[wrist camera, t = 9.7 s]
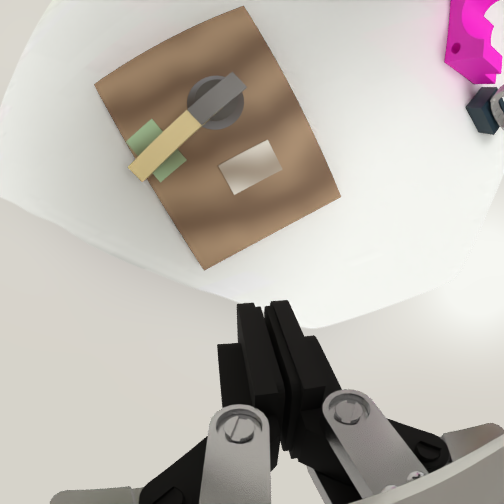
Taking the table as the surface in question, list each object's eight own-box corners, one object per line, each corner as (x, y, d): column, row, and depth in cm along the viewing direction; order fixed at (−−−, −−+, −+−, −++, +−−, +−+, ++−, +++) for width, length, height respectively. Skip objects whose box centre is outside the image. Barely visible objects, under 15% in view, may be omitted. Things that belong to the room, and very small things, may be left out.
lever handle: (222, 72, 25) (225, 63, 22) (248, 99, 26) (254, 95, 23) (130, 156, 27) (120, 160, 23) (155, 183, 28) (149, 190, 25)
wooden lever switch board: (100, 86, 26) (92, 84, 23) (241, 12, 25) (244, 4, 23) (204, 262, 34) (204, 271, 32) (333, 193, 33) (342, 197, 31)
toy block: (472, 84, 30) (511, 83, 23) (443, 62, 29) (482, 57, 22) (478, 7, 25) (512, 0, 19) (450, -16, 24) (483, -27, 17)
